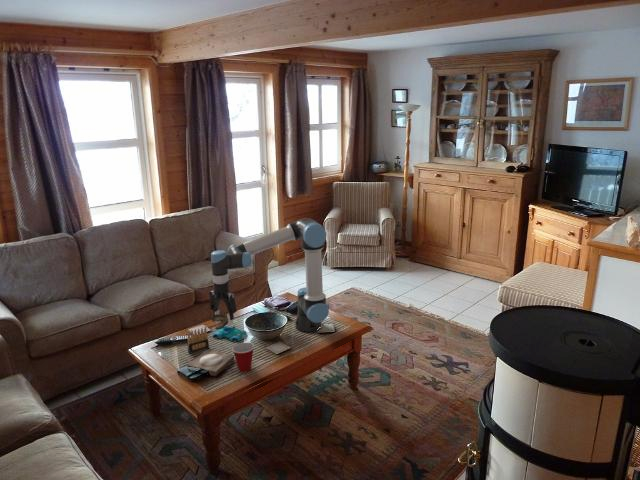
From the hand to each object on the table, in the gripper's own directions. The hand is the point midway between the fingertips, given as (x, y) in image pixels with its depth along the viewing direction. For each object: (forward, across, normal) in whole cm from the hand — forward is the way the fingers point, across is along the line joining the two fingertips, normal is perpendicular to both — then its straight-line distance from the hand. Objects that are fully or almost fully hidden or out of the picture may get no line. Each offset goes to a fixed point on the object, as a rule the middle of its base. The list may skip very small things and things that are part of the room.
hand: (224, 323), depth 244 cm
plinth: (+15, -1, +14) cm, 21 cm away
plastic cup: (+16, -18, +12) cm, 26 cm away
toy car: (+16, +8, -15) cm, 24 cm away
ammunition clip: (+16, +14, +4) cm, 22 cm away
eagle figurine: (+1, 0, +1) cm, 1 cm away
